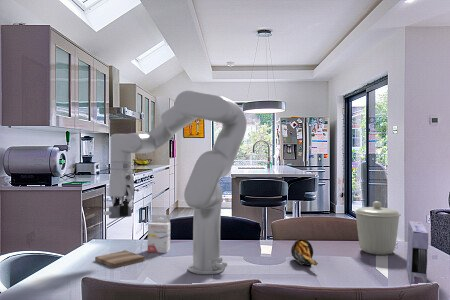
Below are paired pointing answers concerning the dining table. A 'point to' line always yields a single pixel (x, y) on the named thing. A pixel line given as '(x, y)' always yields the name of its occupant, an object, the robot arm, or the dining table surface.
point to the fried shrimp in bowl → (303, 252)
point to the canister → (377, 229)
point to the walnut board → (119, 259)
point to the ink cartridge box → (159, 234)
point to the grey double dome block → (117, 212)
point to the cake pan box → (417, 252)
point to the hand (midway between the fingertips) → (120, 214)
